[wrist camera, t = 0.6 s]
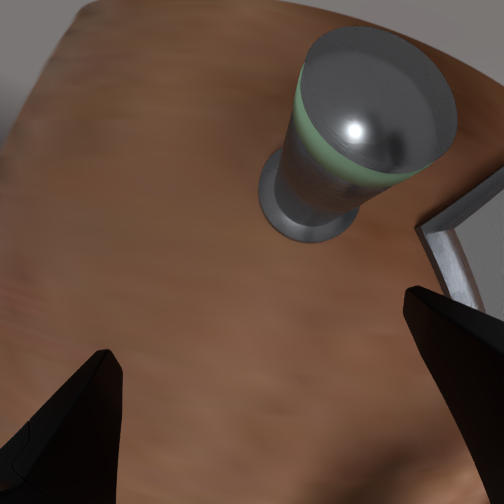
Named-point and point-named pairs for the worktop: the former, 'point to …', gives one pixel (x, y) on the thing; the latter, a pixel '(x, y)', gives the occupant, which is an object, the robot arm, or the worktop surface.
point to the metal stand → (470, 246)
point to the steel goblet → (354, 131)
